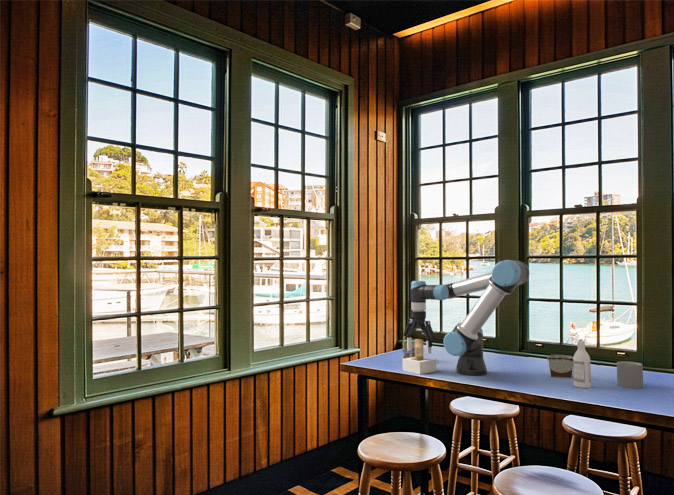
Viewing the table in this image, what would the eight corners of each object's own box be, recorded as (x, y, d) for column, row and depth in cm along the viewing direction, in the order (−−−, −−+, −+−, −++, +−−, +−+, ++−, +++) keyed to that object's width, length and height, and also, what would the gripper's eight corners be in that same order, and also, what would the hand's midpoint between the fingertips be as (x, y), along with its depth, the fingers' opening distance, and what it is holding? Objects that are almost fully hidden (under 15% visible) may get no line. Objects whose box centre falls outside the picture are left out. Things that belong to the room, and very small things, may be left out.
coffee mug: (640, 389, 209) (639, 366, 209) (614, 386, 215) (614, 363, 216) (647, 384, 219) (646, 362, 219) (622, 381, 225) (621, 359, 226)
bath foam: (585, 384, 218) (583, 340, 219) (594, 388, 211) (593, 342, 212) (570, 385, 218) (569, 340, 219) (579, 388, 211) (578, 342, 212)
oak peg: (425, 371, 249) (425, 339, 250) (419, 372, 246) (419, 340, 247) (419, 369, 252) (418, 338, 253) (413, 370, 250) (412, 339, 250)
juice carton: (420, 362, 274) (420, 335, 274) (404, 362, 274) (404, 335, 275) (418, 359, 283) (417, 333, 284) (402, 359, 283) (402, 333, 284)
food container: (572, 375, 237) (572, 355, 238) (575, 378, 231) (574, 357, 232) (545, 374, 240) (545, 354, 241) (547, 377, 235) (547, 356, 235)
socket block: (435, 371, 248) (435, 359, 248) (419, 374, 241) (419, 362, 241) (418, 367, 258) (418, 356, 258) (402, 370, 250) (402, 358, 251)
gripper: (442, 311, 243) (442, 354, 242) (406, 308, 263) (406, 348, 262) (432, 312, 239) (432, 355, 237) (396, 309, 258) (396, 349, 257)
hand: (419, 351), depth 250 cm, fingers open, 13 cm apart
